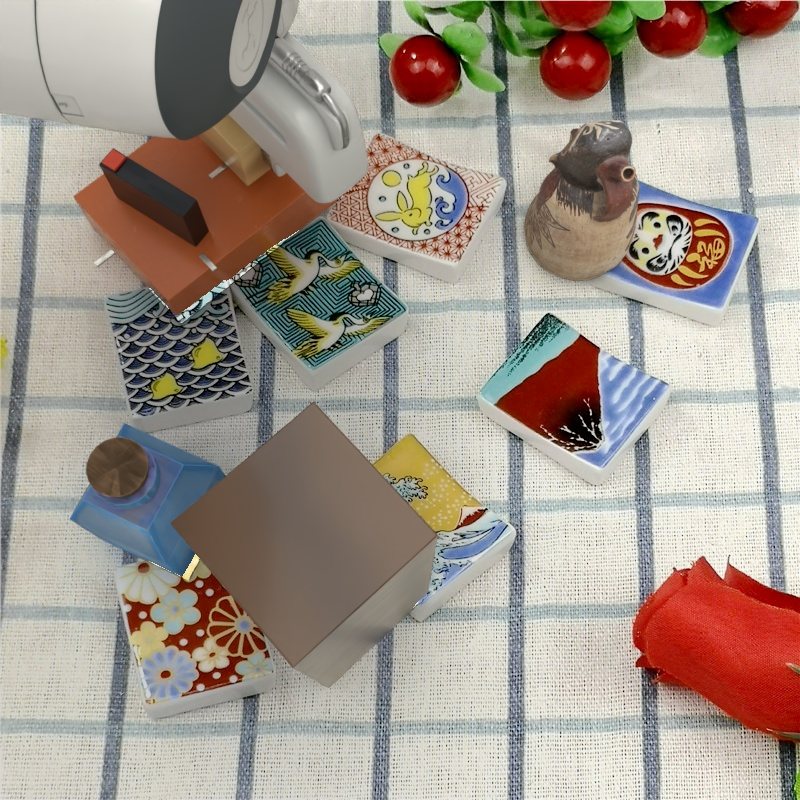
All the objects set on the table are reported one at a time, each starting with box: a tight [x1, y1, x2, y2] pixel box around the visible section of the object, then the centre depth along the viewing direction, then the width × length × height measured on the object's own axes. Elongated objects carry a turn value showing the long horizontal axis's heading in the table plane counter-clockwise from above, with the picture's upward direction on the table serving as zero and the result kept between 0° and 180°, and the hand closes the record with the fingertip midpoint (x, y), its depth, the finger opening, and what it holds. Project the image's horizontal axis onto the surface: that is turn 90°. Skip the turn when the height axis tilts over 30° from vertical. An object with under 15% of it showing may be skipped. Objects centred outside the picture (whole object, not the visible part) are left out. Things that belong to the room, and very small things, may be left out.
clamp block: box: [73, 135, 339, 315], centre depth 67 cm, size 16×11×4 cm
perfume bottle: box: [69, 422, 226, 576], centre depth 57 cm, size 6×6×12 cm
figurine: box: [523, 119, 640, 281], centre depth 63 cm, size 7×7×12 cm
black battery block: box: [98, 148, 209, 247], centre depth 63 cm, size 6×1×4 cm, turn 56°
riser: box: [171, 401, 439, 689], centre depth 52 cm, size 8×8×20 cm
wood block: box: [199, 115, 271, 186], centre depth 64 cm, size 5×5×4 cm
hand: (249, 131), depth 65 cm, fingers closed on wood block, 5 cm apart
